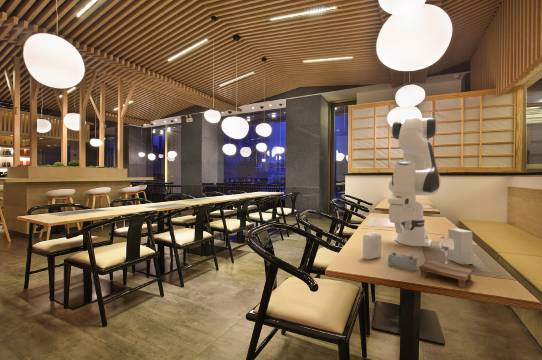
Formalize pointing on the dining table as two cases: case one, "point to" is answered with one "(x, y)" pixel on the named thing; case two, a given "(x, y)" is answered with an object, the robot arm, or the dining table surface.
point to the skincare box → (461, 246)
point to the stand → (446, 271)
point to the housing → (402, 261)
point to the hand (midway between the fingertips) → (403, 231)
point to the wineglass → (446, 245)
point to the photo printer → (371, 245)
